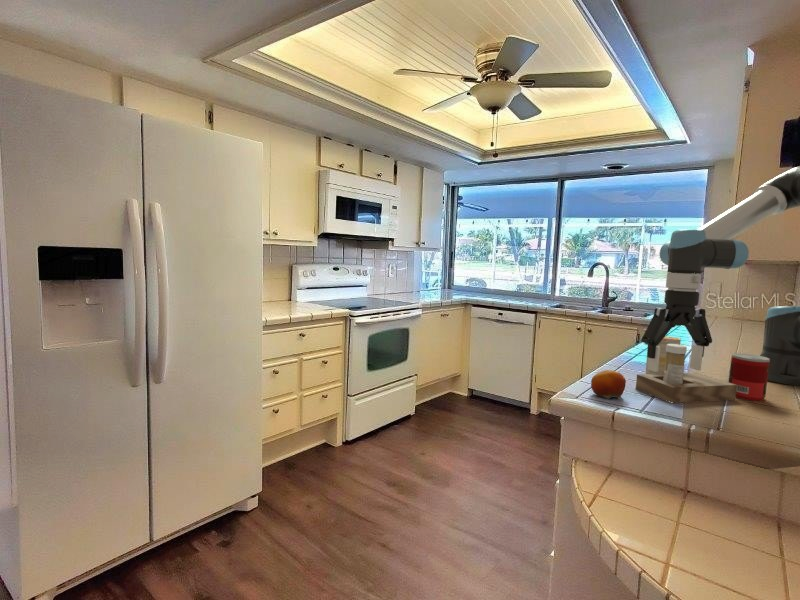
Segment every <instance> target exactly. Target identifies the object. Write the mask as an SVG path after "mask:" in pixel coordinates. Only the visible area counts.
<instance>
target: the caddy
mask: <svg viewBox="0 0 800 600" xmlns="http://www.w3.org/2000/svg"><path fill="white" fill-rule="evenodd" d="M663 378H664V374H645V373H644V374H643V373H642V374H641V373H640V374H637V373H636V380H635V381H636V382H635V390H638V391H640V392H644V393H646V394H648V395H650V394H651V396H653V395H654V396H653V397H655V396H656V397H655V398H658V397H659V398H658V399H660V398H662V399H661V400H663V399H664V400H663V401H665V400H667V401H666V402H668V401H670V402H681V403H682V402H683V403H698V402H697V401H703V402H718V400H722V401H735V400H736V388H737V385H736V384H732V383H729V381H726V380H723V379H718V378H716V377H712V376H709V375H707V374H702V373H699V372H684V374H683V383H682V384H671V383H668V382H665V381H663ZM670 402H669V403H670Z"/></svg>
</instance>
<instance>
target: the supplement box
mask: <svg viewBox="0 0 800 600" xmlns="http://www.w3.org/2000/svg"><path fill="white" fill-rule="evenodd" d="M681 342H682V340H681V337H677V336H676V337H675V336H667V335H666V336H665V337H664V338H663V339H662V341H661V342H660V343H659V344H658V347H660V356H659V366H658V372H654V371H651V370H648V369H647V368H648V357H647V356H646V360H645V361H646V362H645V373H644V374H664V369H665V362H666V352H667V351H666V345H667V344H679V345H681ZM646 349H647V351H648V347H647V348H646ZM647 351H646V352H647Z"/></svg>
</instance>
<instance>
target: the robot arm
mask: <svg viewBox="0 0 800 600" xmlns="http://www.w3.org/2000/svg"><path fill="white" fill-rule="evenodd" d="M799 207H800V165H799V166H796V167H793V168H791V169H788V170H787V171H784V172H782V173H781V174H779V175H776V176H775V177H774V178H772V179H770V180H768V181H767V182H765V183H763V184H762V185H760V186H758V187H757V188H756V189H755V190H753V193H752V195H751V196H749V197H747V198H745V199H744V200H742V201H741V202H739V203H737V204H736V205H734V206H733V207H731V208H729V209H727V210H726V211H724V212H722V213H721V214H719V215H718V216H717V217H715V218H714V219H712V220H710V221H709V222H706V223H705V224H704V225H702V226H700V227H699V228H696V229H676V230H674V231H673V232H672V233H671V236H670V240H669V241H667V242H664V243H663V244H662V246H661V247H660V249H659V258H660V261H661V262H662V263H663V264H664V265H666V266H667V272H666V281H665V287H666V290H664V291H665V292H664V304H665V305H666V306H665V308H664V307H663V308H662V307H655V308H654V311H653V312H654V313H653V316H652V318H651V320H650V321H649V324H648V325H647V328H646V330H645V332H644V333H643V335H642V337H641V340H640V342H641V343H643V344H645V345H647V348H648V351H646V358H647V357H648V368H647V369H648V370H651V371H654V372H658V366H659V356H660V347H658V344H659V343H660V342H661V341H662V339H663V338H664V337H665V336H667V335H668V333H669V332H670V331H671V330H672V329H673V328H675V327H676V326H677V327H681V326H684V327H685V328H686V330H687V333H688V334H689V335H690V337H691V339H692V340H693V342H694V344H693V343H692V345H691V351H690V361H689V369H691V370H696V371H701V370H702V363H703V357H704V355H705V347H709V346H710V344H712V343H713V338H712V335H711V331H710V329H709V325H708V322H707V321H708V320H707V319H706V318H707V317H706V309H705V308H700V307H697V306H699V301H700V292H699V291H698V290H700V288H701V279H702V274H703V273H702V271H703V268H707V269H709V268H710V269H724V270H726V269H727V270H729V269H740V268H742V266H744V265H745V264H746V262H747V261H748V259H749V248H748V245H747V244H746V243H745V242H743V241H741V240H737V239H735V237H737V236H738V235H740V234H742V233H744V232H745V231H747V230H749V229H750V228H752V227H753V226H755V225H757V224H758V223H760V222H762V221H763V220H765V219H767V218H768V217H770V216H777V215H780V214H782V213H783V212H785V211H787V210H791V209H794V208H799ZM733 238H734V239H735V240H734V239H733ZM764 320H765V322H764V330H763V331H764V332H763V339H762V340H763V342H762V349H761V353H760V354H759V356H763V357H767V358H769V359H770V364H769V372H768V380H767V382H768V381H769V382H774V383H778V384H783V385H784V384H785V385H791V386H800V306H796V305H795V306H794V305H793V306H788V305H785V306H784V305H781V306H772V307H770V308H768V309H767V313H766V317H765V319H764Z"/></svg>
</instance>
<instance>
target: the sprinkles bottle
mask: <svg viewBox="0 0 800 600" xmlns="http://www.w3.org/2000/svg"><path fill="white" fill-rule="evenodd" d="M687 348H688V347H687V346H686V345H684V344H680V345H679V344H667V345H666V351H667V352H666V362H665V369H664V378H663V381H665V382H668V383H671V384H682V383H683V374H684V373H685V361H686V354H687Z"/></svg>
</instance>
